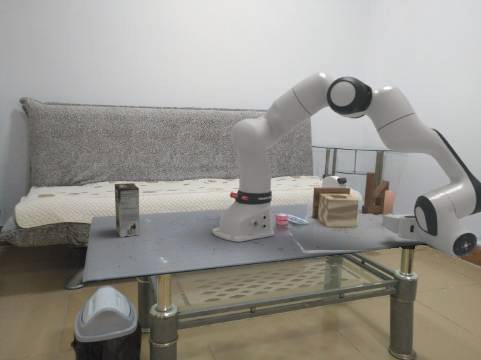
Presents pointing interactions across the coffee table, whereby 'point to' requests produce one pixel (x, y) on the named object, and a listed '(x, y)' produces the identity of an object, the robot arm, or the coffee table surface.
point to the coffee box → (127, 209)
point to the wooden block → (374, 195)
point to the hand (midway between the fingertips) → (403, 215)
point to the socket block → (338, 210)
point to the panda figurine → (333, 181)
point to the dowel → (388, 203)
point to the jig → (325, 191)
